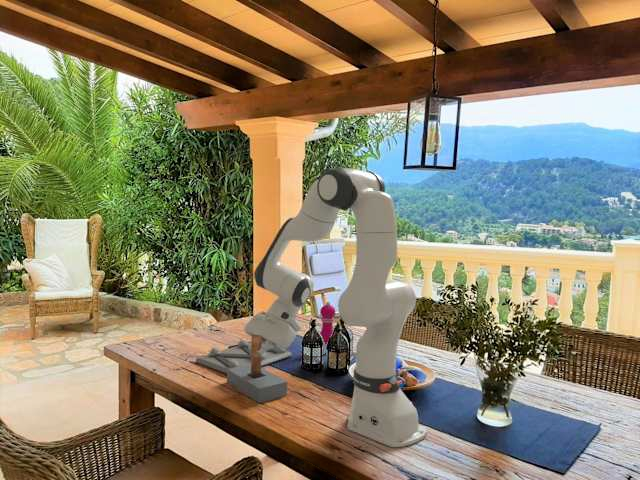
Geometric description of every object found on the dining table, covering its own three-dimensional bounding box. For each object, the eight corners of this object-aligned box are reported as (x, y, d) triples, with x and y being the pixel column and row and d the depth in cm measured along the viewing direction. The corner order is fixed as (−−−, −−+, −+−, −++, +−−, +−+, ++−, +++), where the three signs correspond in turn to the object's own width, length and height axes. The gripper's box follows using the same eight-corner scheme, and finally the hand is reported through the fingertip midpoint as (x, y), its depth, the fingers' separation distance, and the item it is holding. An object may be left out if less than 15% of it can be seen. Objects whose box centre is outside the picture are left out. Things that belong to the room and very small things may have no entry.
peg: (262, 373, 162) (263, 337, 160) (254, 375, 160) (255, 338, 158) (257, 370, 164) (258, 334, 163) (249, 372, 162) (249, 336, 161)
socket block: (286, 395, 158) (287, 381, 157) (259, 403, 151) (259, 388, 151) (253, 375, 173) (253, 363, 173) (227, 382, 167) (227, 369, 166)
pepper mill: (334, 354, 198) (335, 304, 196) (315, 352, 199) (317, 302, 197) (337, 348, 205) (338, 300, 203) (319, 347, 206) (321, 298, 204)
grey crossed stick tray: (254, 345, 208) (255, 328, 207) (293, 358, 194) (293, 339, 193) (193, 363, 185) (194, 344, 184) (232, 379, 171) (233, 358, 170)
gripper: (255, 304, 172) (230, 338, 166) (294, 317, 157) (269, 354, 152) (265, 315, 176) (241, 348, 170) (305, 329, 161) (280, 365, 155)
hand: (254, 351), depth 161 cm, fingers closed on peg, 3 cm apart
